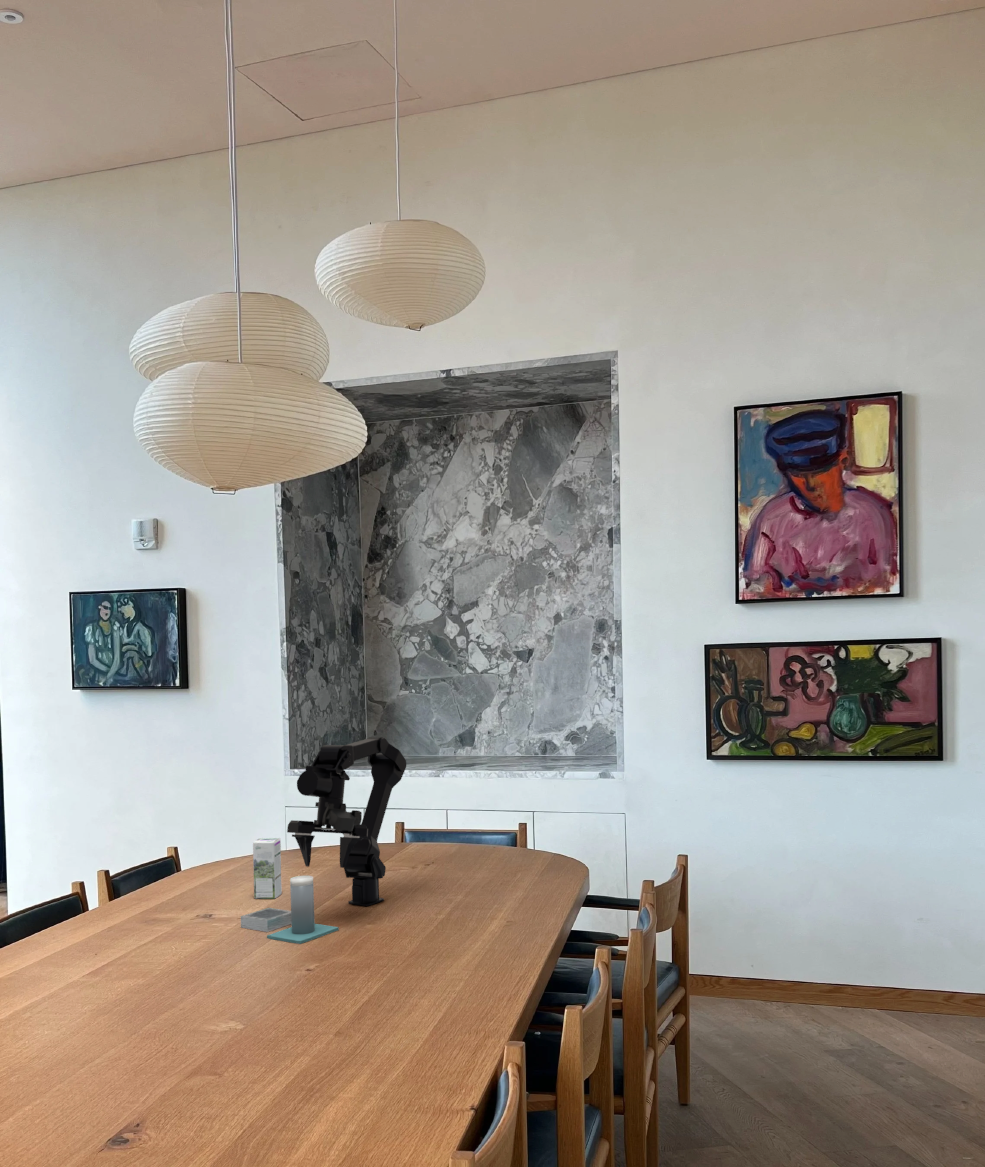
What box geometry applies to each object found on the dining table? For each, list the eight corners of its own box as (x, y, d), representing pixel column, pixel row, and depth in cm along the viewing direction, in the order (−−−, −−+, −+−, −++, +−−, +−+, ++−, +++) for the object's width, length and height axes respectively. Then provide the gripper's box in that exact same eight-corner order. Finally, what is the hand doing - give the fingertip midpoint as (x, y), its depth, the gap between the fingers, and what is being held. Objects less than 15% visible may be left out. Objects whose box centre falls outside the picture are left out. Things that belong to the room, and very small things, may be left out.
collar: (268, 918, 233) (268, 907, 233) (295, 922, 228) (294, 911, 229) (240, 927, 226) (240, 916, 226) (267, 931, 221) (267, 920, 221)
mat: (306, 924, 226) (305, 922, 226) (338, 930, 221) (338, 927, 221) (266, 938, 216) (266, 935, 216) (300, 944, 211) (300, 941, 211)
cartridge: (295, 928, 221) (294, 875, 222) (317, 927, 221) (315, 875, 222) (288, 934, 216) (287, 880, 217) (310, 934, 216) (309, 880, 217)
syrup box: (282, 893, 258) (281, 837, 259) (275, 899, 252) (273, 841, 253) (261, 894, 259) (260, 837, 260) (253, 899, 253) (252, 841, 254)
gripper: (313, 795, 223) (306, 867, 219) (383, 801, 234) (377, 869, 230) (289, 795, 231) (282, 865, 227) (357, 801, 242) (352, 867, 238)
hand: (325, 867), depth 231 cm, fingers open, 9 cm apart
